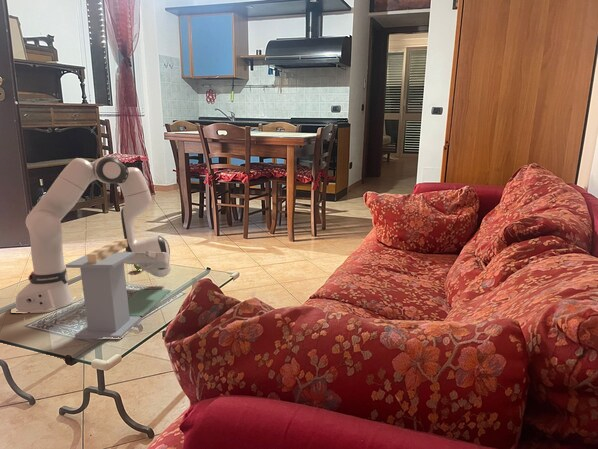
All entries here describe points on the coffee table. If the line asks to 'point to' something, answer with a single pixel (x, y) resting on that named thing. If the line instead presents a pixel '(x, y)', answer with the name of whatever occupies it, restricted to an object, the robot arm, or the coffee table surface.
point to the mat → (144, 301)
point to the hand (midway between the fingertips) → (135, 253)
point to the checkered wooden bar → (106, 251)
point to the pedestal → (105, 297)
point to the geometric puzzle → (136, 266)
